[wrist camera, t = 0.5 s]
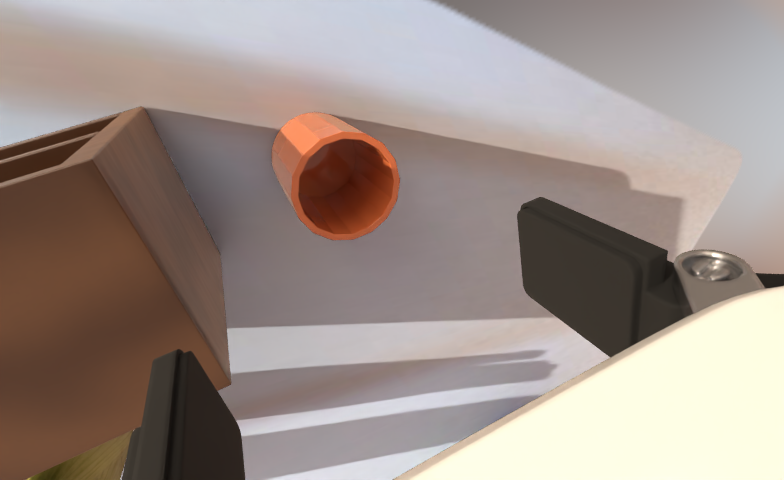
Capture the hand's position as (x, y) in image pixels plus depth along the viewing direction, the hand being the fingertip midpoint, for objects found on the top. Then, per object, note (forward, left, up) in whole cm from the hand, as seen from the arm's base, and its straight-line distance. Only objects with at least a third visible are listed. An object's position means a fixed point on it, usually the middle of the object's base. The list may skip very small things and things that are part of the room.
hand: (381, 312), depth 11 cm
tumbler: (+2, +3, -21) cm, 22 cm away
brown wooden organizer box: (+1, -13, -21) cm, 25 cm away
